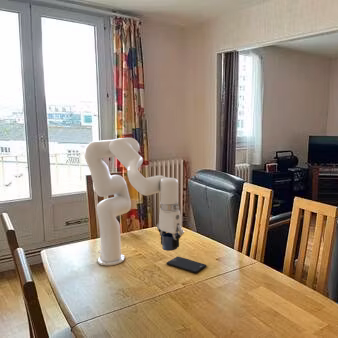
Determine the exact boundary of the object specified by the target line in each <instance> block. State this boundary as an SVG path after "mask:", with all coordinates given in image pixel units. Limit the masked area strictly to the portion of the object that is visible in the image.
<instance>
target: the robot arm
mask: <svg viewBox="0 0 338 338" xmlns="http://www.w3.org/2000/svg"><path fill="white" fill-rule="evenodd" d="M139 152H140V143H139V142H138V140H136V139H135V138H133V137H120V138H115V139H105V140H104V139H103V140H94V141H91V142H89V143H88V144H87V145H86V146H85V148H84V160H85V162H86V164H87V166H88V169H89V171H90V176H91V180H92V183H93V188H94V191H95V194H96V195H97V196H98V197H100V198H102V197H103V198H104V197H108V198H105V199H103V200H100V201H99V202H98V203H97V205H96V209H95V210H96V214H97V218H98V224H99V225H98V226H99V242H100V243H99V244H100V250H98V251H97V252H98V254H99V255H100V256H99V257H98V259H97V263H98V264H99V265H100V266H115V265H119V264H121V263H123V262H124V261H125V258H126V257H125V255H124V254H122V241H121V240H122V239H121V238H122V237H121V236H122V235H121V225H120V222H119V221H118V219H117V217H119V216H122V215H124V214H127V213H129V212H130V211H131V208H132V201H131V197H130V192H129V188H128V184H127V181H126V180H125V178H124V177H123V176H122V175H120V174H112V175H111V172H110V168H109V165H108V164H107V162H106V161H104V160H103V159H108V158H115V159H116V160H117V161H119V162H120V163H121V164H122V165H123V167H125V169H126V170H127V178H128V181H129V183H130V185H131V186H132V188H133V189H135V190H136V191H137V192H138V193H139V194H140V195H142V196H146V197H148V196H153V195H154V194H158V193H159V194H160V195H159V196H160V208H159V215H158V223H157V224H156V228H157V231H158V232H159V236H160V245H161V246H162V234H164V233H171V234H172V235H173V238H174V240H173V249H175V248H177V249H178V248H179V247H180V239H181V238H182V236H183V235H184V234H185V231H184V229H183V225H182V224H183V223H182V215H181V214H182V213H181V210H180V206H179V181H178V179H177V178H175V177H167V176H165V175H160V174H159V175H152V176H148V177H145V176H144V175H143V174H142V173H141V171H139V169H140V168H141V166H142V165H143V162H144V158H143V156H142V155H140V154H139ZM112 195H113V197H109V196H112ZM175 234H176V235H177V236H176V235H175Z"/></svg>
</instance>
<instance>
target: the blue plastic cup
mask: <svg viewBox="0 0 338 338" xmlns="http://www.w3.org/2000/svg"><path fill="white" fill-rule="evenodd" d="M175 235H176V234H175ZM176 236H177V235H176ZM173 240H174V238H173V235H172V234H171V233H168V232H166V233H164V234H162V245H161V247H162V250H163V251H166V252H170V251H171V252H172V251H176V250H177V249H178V248H175V249H173Z"/></svg>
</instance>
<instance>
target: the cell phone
mask: <svg viewBox="0 0 338 338" xmlns="http://www.w3.org/2000/svg"><path fill="white" fill-rule="evenodd" d="M166 265H169V266H171V267H175V268H177V269H180V270H184V271H187V272H190V273H193V274H197V273H199V272H200V271H202V270H204V269H205V268H206V267H207V264H205V263H202V262H198V261H195V260H191V259H189V258H184V257H182V256H175V257H174V258H172V259H170V260H168V261H167V262H166Z"/></svg>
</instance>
